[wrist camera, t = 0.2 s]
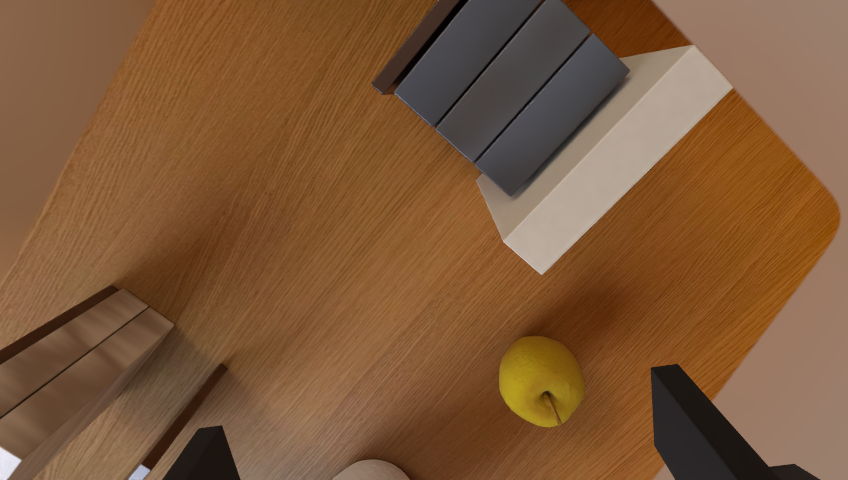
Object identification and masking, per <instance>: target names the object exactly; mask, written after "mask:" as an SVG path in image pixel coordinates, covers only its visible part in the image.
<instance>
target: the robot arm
mask: <svg viewBox="0 0 848 480" xmlns="http://www.w3.org/2000/svg"><path fill="white" fill-rule="evenodd" d="M651 383H652V405H653V426H654V446H655V447H656V449H657V451H658V452H659V454H660V455H661V457H662V459H663V460H664V462H665V464H666V465H667V467H668V468H669V470H670V472H671V473H672V475H673V477H674V478H675V480H820V479H818V478H817V477H815V476H813V475H812V474H810V473H808V472H807V471H805V470H803V469H802V468H800V467H799V466H797V465H795V464H790V465H782V466H773V467H768V465H767V464H766V463H765V462H764V461H763V460H762V459H761V457H760V456H759V455H758V454H757V453H756V452H755V451H754V450H753V448H752V447H751V446H750V445H749V444H748V443H747V442H746V441H745V439H744V438H743V437H742V436H741V435H740V434H739V433H738V432H737V431H736V429H735V428H734V427H733V426H732V425H731V424H730V423H729V421H728V420H727V419H726V418H725V417H724V416H723V415H722V414H721V412H720V411H719V410H718V409H717V408H716V407H715V406H714V405H713V403H712V402H711V401H710V400H709V399H708V398H707V397H706V395H705V394H704V393H703V392H702V391H701V390H700V389H699V388H698V386H697V385H696V384H695V383H694V382H693V381H692V380H691V379H690V377H689V376H688V375H687V374H686V373H685V372H684V371H683V370H682V368H681V367H680V366H679V365H678V364H674V365H666V366H659V367H652V368H651ZM163 480H240V477H239V474H238V471H237V468H236V465H235V462H234V459H233V457H232V454H231V451H230V448H229V445H228V442H227V439H226V436H225V433H224V430H223V427H222V426H214V427H207V428H199V429H198V430H197V431H196V433H195V434H194V436H193V437H192V438H191V440H190V441H189V443H188V444H187V446H186V447H185V448H184V450H183V451H182V453H181V454H180V455H179V457H178V458H177V460H176V461H175V463H174V464H173V465H172V467H171V468H170V470H169V471H168V472H167V474H166V475H165V477H164V478H163Z"/></svg>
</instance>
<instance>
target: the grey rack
mask: <svg viewBox="0 0 848 480" xmlns="http://www.w3.org/2000/svg"><path fill="white" fill-rule="evenodd" d="M541 1H542V0H438V1H437V2H436V3H435V4H434V6H433V7H432V8H431V9H430V11H429V12H428V13H427V14H426V16H425V17H424V18H423V19H422V21H421V22H420V23H419V24H418V26H417V27H416V28H415V29H414V31H413V32H412V33H411V34H410V36H409V37H408V38H407V39H406V41H405V42H404V43H403V44H402V46H401V47H400V48H399V49H398V51H397V52H396V53H395V54H394V56H393V57H392V58H391V59H390V61H389V62H388V63H387V64H386V66H385V67H384V68H383V69H382V71H381V72H380V73H379V74H378V76H377V77H376V78H375V79H374V81H373V82H372V83H371V85H372V86H373V87H374V88H375V89H376V90H377V91H378V92H379V93H381V94H382V95H391V94H395V95H396V96H398V97H399V98H400V99H401V100H402V101H403V102H404V103H405V104H406V105H408V106H409V107H410V108H411V109H412V110H413V111H414V112H415V113H417V114H418V115H419V116H420V117H421V118H422V119H423V120H424V121H425V122H427V123H428V124H429V125H430V126H431V127H434V126H435V130H436V131H437V132H438V133H439V134H440V135H441V136H442V137H443V138H444V139H446V140H447V141H448V142H449V143H450V144H451V145H452V146H453V147H454V148H456V149H457V150H458V151H459V152H460V153H461V154H462V155H463V156H464V157H466V158H467V159H468V160H469V161H470V162H472V163H474V165H475V166H476V167H477V168H478V169H479V170H480V171H481V172H482V173H483V174H485V175H486V176H487V177H488V178H489V179H490V180H491V181H492V182H493V183H495V184H496V185H497V186H498V187H499V188H500V189H501V190H502V191H503V192H505V193H506V194H507V195H508V196H509V197H512V196H513V194H514V193H515V192H516V191H517V190H518V189H519V188H520V187H521V186H522V185H523V184H524V183H525V182H526V181H527V180H528V179H529V178H530V177H531V175H532V174H533V173H534V172H535V171H536V170H537V169H538V168H539V167H540V166H541V165H542V164H543V163H544V162H545V161H546V160H547V159H548V158H549V156H550V155H551V154H552V153H553V152H554V151H555V150H556V149H557V148H558V147H559V146H560V145H561V144H562V143H563V142H564V141H565V140H566V138H567V137H568V136H569V135H570V134H571V133H572V132H573V131H574V130H575V129H576V128H577V127H578V126H579V125H580V124H581V123H582V122H583V121H584V119H585V118H586V117H587V116H588V115H589V114H590V113H591V112H592V111H593V110H594V109H595V108H596V107H597V106H598V105H599V104H600V103H601V102H602V100H603V99H604V98H605V97H606V96H607V95H608V94H609V93H610V92H611V91H612V90H613V89H614V88H615V87H616V86H617V85H618V84H619V83H620V81H621V80H622V79H623V78H624V77H625V76H626V75H627V74H628V73H629V72H630V69H629V68H628V67H627V66H626V65H625V64H624V63H623V62H622V61H621V60H620V59H619V58H618V57H617V56H616V55H615V54H614V53H613V52H612V51H611V50H610V49H609V48H608V47H607V46H606V45H605V44H604V43H603V42H602V41H601V40H600V39H599V38H598V37H597V36H596V35H595V34H594V33H593V34H590V32H591V30H590V29H589V28H588V27H587V26H586V25H585V24H584V23H583V22H582V21H581V20H580V19H579V18H578V16H577V15H576V14H575V13H574V12H573V11H572V10H571V9H570V8H569V7H568V6H567V5H566V4H565V3H564V2H563V1H562V0H543V1H542V2H541ZM589 34H590V35H589Z"/></svg>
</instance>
